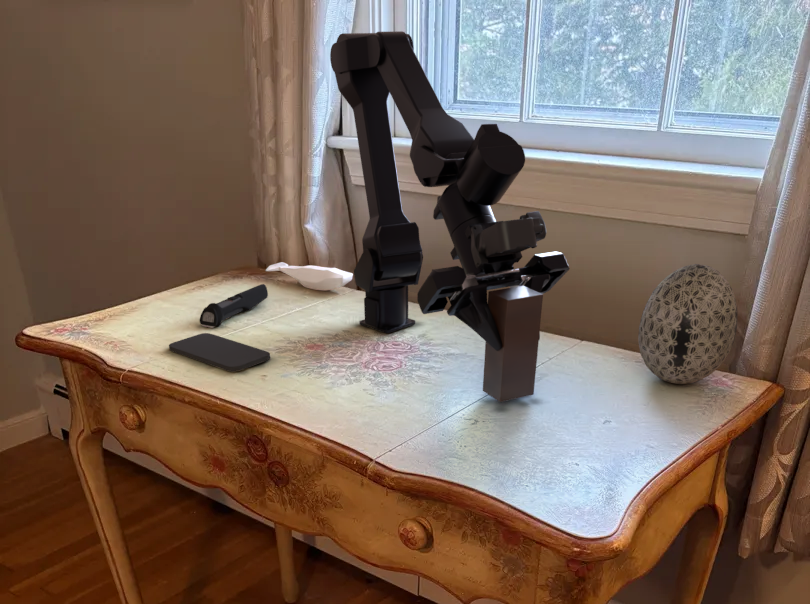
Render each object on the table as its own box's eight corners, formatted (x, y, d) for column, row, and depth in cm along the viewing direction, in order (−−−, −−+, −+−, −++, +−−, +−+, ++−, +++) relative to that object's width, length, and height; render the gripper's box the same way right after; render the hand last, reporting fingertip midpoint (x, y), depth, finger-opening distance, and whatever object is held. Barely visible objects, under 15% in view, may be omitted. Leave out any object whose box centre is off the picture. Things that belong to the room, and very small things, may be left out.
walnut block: (482, 391, 100) (488, 291, 93) (515, 383, 102) (523, 285, 95) (500, 402, 97) (507, 300, 90) (533, 394, 99) (543, 294, 92)
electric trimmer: (274, 303, 134) (273, 284, 133) (217, 328, 123) (214, 308, 121) (256, 300, 136) (254, 281, 134) (198, 325, 124) (195, 305, 122)
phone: (206, 331, 119) (273, 353, 111) (206, 337, 119) (274, 358, 111) (165, 345, 114) (232, 368, 106) (166, 350, 115) (233, 374, 107)
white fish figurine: (338, 299, 135) (337, 275, 133) (265, 281, 145) (262, 259, 142) (359, 292, 139) (358, 268, 137) (286, 275, 148) (284, 253, 146)
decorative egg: (727, 372, 107) (754, 258, 99) (718, 405, 98) (746, 282, 90) (639, 360, 111) (658, 249, 103) (623, 390, 102) (642, 271, 94)
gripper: (430, 194, 85) (480, 324, 83) (569, 180, 93) (618, 299, 91) (397, 253, 96) (441, 370, 94) (524, 236, 103) (567, 344, 101)
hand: (518, 345), depth 94 cm, fingers closed on walnut block, 5 cm apart
